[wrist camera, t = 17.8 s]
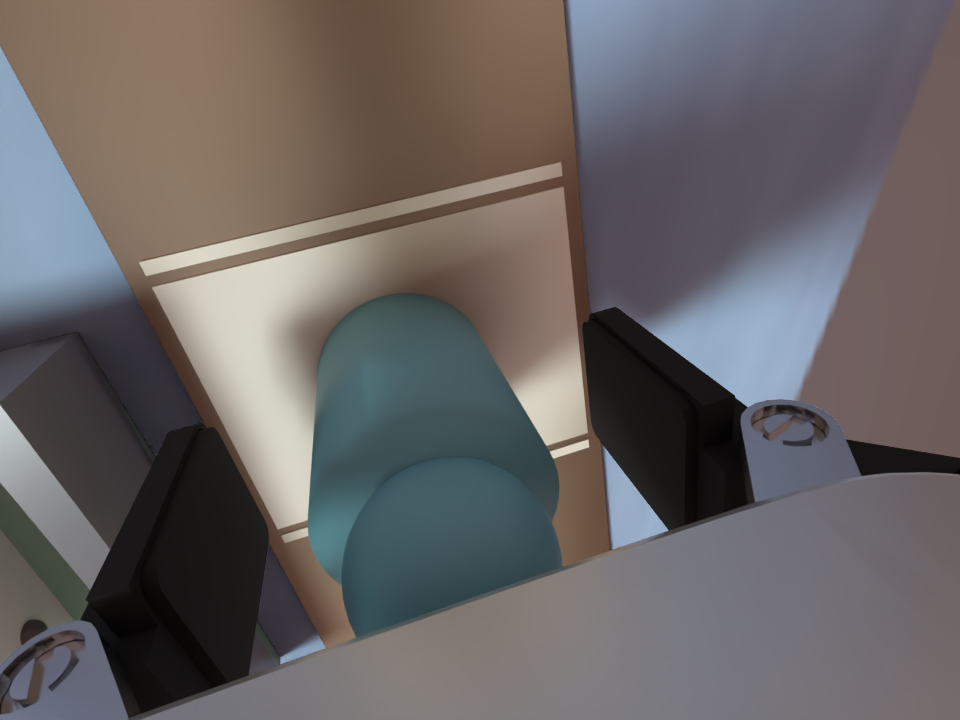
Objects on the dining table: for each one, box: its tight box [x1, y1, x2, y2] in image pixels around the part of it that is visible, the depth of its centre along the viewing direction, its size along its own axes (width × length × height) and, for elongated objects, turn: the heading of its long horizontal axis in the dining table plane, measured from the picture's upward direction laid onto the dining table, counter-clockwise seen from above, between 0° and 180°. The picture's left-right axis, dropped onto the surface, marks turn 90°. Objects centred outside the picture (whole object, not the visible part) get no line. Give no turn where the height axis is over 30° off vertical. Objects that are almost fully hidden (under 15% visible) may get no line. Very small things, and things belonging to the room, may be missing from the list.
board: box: [0, 0, 610, 648], centre depth 11 cm, size 10×32×1 cm, turn 11°
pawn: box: [307, 293, 563, 638], centre depth 10 cm, size 4×4×8 cm
